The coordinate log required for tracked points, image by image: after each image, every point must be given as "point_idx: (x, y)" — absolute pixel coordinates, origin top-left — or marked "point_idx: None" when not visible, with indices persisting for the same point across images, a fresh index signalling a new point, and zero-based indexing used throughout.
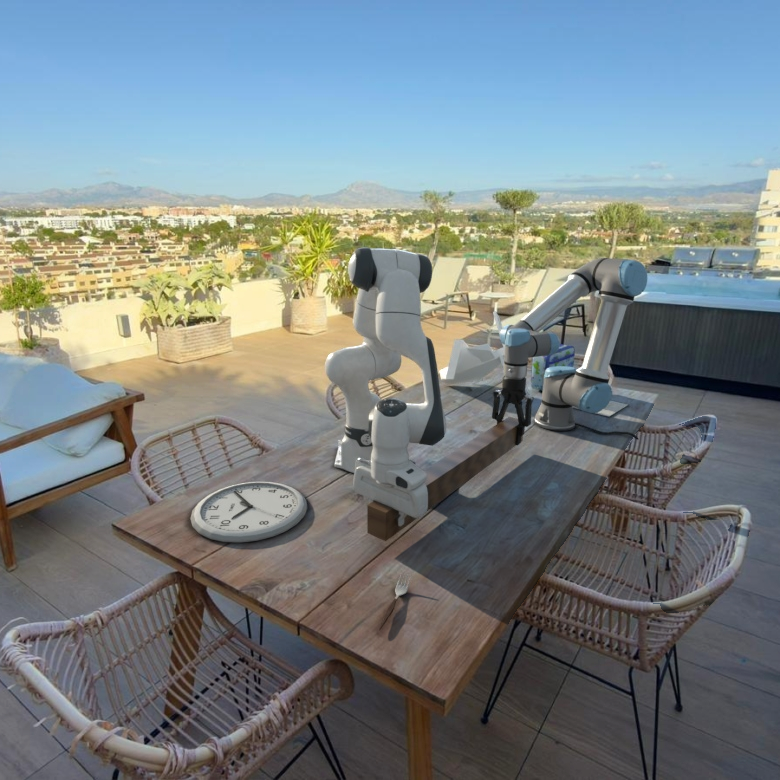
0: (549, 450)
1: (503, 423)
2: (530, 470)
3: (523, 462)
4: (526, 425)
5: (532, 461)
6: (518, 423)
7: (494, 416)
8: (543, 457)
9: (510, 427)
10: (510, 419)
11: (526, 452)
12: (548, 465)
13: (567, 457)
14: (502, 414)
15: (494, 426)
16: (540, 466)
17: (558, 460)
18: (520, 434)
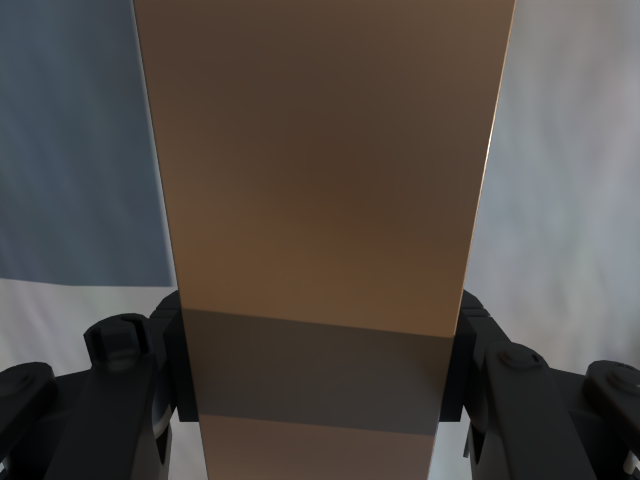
0: None
1: (392, 292)
2: (26, 12)
3: (148, 122)
4: (9, 375)
5: (116, 179)
6: (209, 413)
7: (624, 396)
8: (106, 278)
9: (209, 200)
10: (367, 468)
11: None
12: (8, 187)
13: (19, 355)
14: (505, 474)
15: (492, 34)
16: (29, 136)
17: (22, 292)
18: None
